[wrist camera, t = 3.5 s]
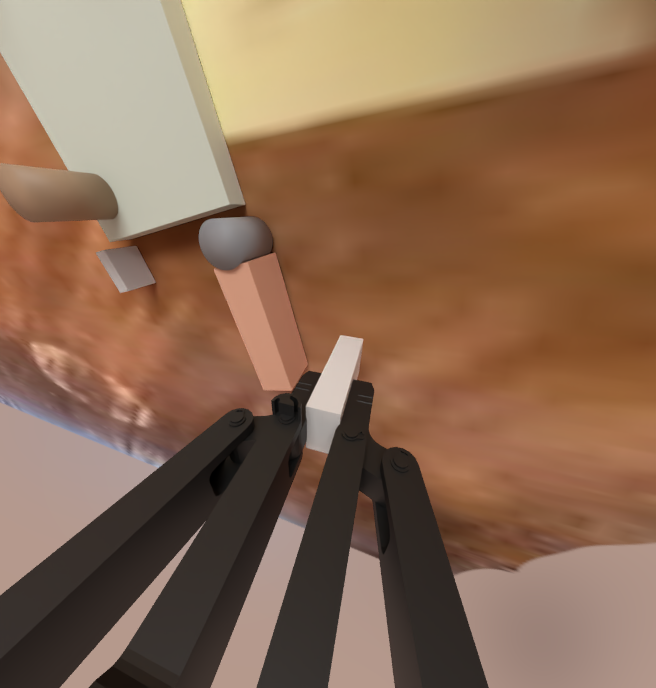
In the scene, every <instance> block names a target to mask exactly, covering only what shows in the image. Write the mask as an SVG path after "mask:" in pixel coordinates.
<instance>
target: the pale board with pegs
mask: <svg viewBox="0 0 656 688" xmlns="http://www.w3.org/2000/svg"><path fill="white" fill-rule="evenodd" d="M0 53H1V54H2V56H3V58H4V60H5V61H6V63H7V65H8V67H9V68H10V70H11V72H12V73H13V75H14V77H15V79H16V80H17V82H18V84H19V86H20V87H21V89H22V91H23V92H24V94H25V96H26V98H27V99H28V101H29V103H30V105H31V106H32V108H33V110H34V111H35V113H36V115H37V117H38V118H39V120H40V122H41V124H42V125H43V127H44V129H45V131H46V132H47V134H48V136H49V137H50V139H51V141H52V143H53V144H54V146H55V148H56V150H57V151H58V153H59V155H60V156H61V158H62V160H63V162H64V163H65V165H66V167H67V169H68V170H69V171H66V170H57V169H48V168H39V167H31V166H22V165H13V164H4V163H1V164H0V190H1V192H2V194H3V196H4V197H5V199H6V200H7V202H8V203H9V204H10V206H11V207H12V208H13V209H14V210H15V211H16V212H17V213H18V214H19V215H20V216H22V217H23V218H24V219H26V220H28V221H30V222H56V221H82V220H98V222H99V224H100V226H101V227H102V229H103V231H104V233H105V234H106V236H107V238H108V239H109V241H110V242H113V241H121V240H130V239H134V238H137V237H140V236H144V235H147V234H150V233H154V232H157V231H160V230H163V229H167V228H170V227H173V226H177V225H180V224H183V223H186V222H190V221H193V220H196V219H200V218H203V217H206V216H209V215H213V214H216V213H219V212H223V211H226V210H229V209H233V208H236V207H239V206H242V205H245V201H244V198H243V195H242V192H241V189H240V186H239V183H238V179H237V176H236V173H235V170H234V167H233V164H232V161H231V157H230V154H229V151H228V148H227V145H226V142H225V138H224V135H223V132H222V129H221V126H220V123H219V120H218V116H217V113H216V110H215V107H214V104H213V101H212V97H211V94H210V91H209V88H208V85H207V82H206V79H205V75H204V72H203V69H202V66H201V63H200V60H199V56H198V53H197V50H196V47H195V44H194V41H193V38H192V34H191V31H190V28H189V25H188V22H187V19H186V16H185V12H184V9H183V6H182V3H181V0H0ZM96 254H97V256H98V257H99V259H100V261H101V262H102V264H103V265H104V267H105V269H106V270H107V272H108V274H109V275H110V277H111V278H112V280H113V282H114V283H115V285H116V287H117V288H118V290H119V291H120V293H121V292H126V291H130V290H134V289H137V288H140V287H144V286H147V285H150V284H154V283H156V282H155V280H154V278H153V276H152V274H151V272H150V270H149V269H148V267H147V265H146V263H145V261H144V259H143V257H142V255H141V254H140V252H139V250H138V248H137V246H130V247H123V248H116V249H108V250H103V251H100V252H96Z"/></svg>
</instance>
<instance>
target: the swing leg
mask: <svg viewBox="0 0 656 688" xmlns="http://www.w3.org/2000/svg"><path fill="white" fill-rule="evenodd" d="M199 244H200V248H201V250H202V252H203V254H204V256H205V258H206V259H207V260H208V261H209V262H210V263H211V264H212V265H213V266H215V267H216V269H214V271H215V274H216V276H217V279H218V281H219V283H220V286H221V288H222V291H223V293H224V296H225V298H226V300H227V303H228V305H229V308H230V310H231V312H232V315H233V317H234V320H235V322H236V324H237V327H238V329H239V332H240V334H241V337H242V339H243V341H244V344H245V346H246V349H247V351H248V353H249V356H250V358H251V361H252V363H253V365H254V368H255V370H256V373H257V375H258V378H259V380H260V382H261V385H262V387H263V390H285V391H292V390H293V388H294V387H295V385H296V383H297V382H298V380H299V378H300V377H301V375H302V373H303V372H304V370H305V368H306V367H307V365H308V363H307V359H306V356H305V352H304V349H303V345H302V342H301V339H300V335H299V332H298V328H297V325H296V321H295V318H294V314H293V311H292V308H291V304H290V301H289V297H288V294H287V290H286V287H285V283H284V280H283V277H282V273H281V270H280V266H279V263H278V259H277V256H276V253H271V254H269V253H270V252H271V249H272V246H273V238H272V234H271V231H270V229H269V227H268V226H267V225H266V223H265V222H264V221H262V220H261V219H259V218H257V217H233V218H215V219H209V220H207V221H205V222H204V223H203V224H202V226H201V228H200V230H199Z"/></svg>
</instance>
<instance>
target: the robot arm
mask: <svg viewBox="0 0 656 688" xmlns="http://www.w3.org/2000/svg"><path fill="white" fill-rule="evenodd" d="M362 346H363V339H361V338H355V337H349V336H343V335H340V337H339V339H338V341H337V343H336V346H335V348H334V350H333V352H332V354H331V356H330V358H329V360H328V362H327V364H326V366H325V368H324V370H323V372H322V373H317V372H312V371H308V372H307V373H305V374H304V375H302V377H301V379H300V380H299V383H298V384H297V385H296V388H295V389H294V390H293V392H292V394H290V393H285V394H280V395H278V396H276V397H274V398H273V399H272V400H271V402H272V411H273V415H269V416H253V414H252V412H251V411H249V410H248V409H244V408H239V409H235V410H232V411H230V412H228V413H227V414H225V415H224V416H223V417H222V418H220V419H219V420H218V421H217V422H215V423H214V424H213V425H212V426H210V427H209V428H208V429H207V430H205V431H204V432H203V433H202V434H200V435H199V436H198V437H197V438H195V439H194V440H193V441H192V442H191V443H189V444H188V445H187V446H186V447H184V448H183V449H182V450H181V451H179V452H178V453H177V454H176V455H174V456H173V457H172V458H171V459H169V460H168V461H167V462H166V463H164V464H163V465H162V466H161V467H159V468H158V469H157V470H156V471H154V472H153V473H152V474H151V475H149V476H148V477H147V478H146V479H144V480H143V481H142V482H141V483H140V484H139V485H137V486H136V487H135V488H133V489H132V490H131V491H130V492H128V493H127V494H126V495H125V496H123V497H122V498H121V499H120V500H118V501H117V502H116V503H115V504H113V505H112V506H111V507H110V508H109V509H107V510H106V511H105V512H103V513H102V514H101V515H100V516H99V517H97V518H96V519H95V520H94V521H92V522H91V523H90V524H89V525H87V526H86V527H85V528H84V529H82V530H81V531H80V532H79V533H77V534H76V535H75V536H74V537H72V538H71V539H70V540H69V541H67V542H66V543H65V544H64V545H63V546H61V547H60V548H59V549H57V550H56V551H55V552H54V553H52V554H51V555H50V556H49V557H48V558H46V559H45V560H44V561H43V562H41V563H40V564H39V565H38V566H36V567H35V568H34V569H33V570H31V571H30V572H29V573H28V574H26V575H25V576H24V577H23V578H21V579H20V580H19V581H18V582H17V583H15V584H14V585H13V586H11V587H10V588H9V589H8V590H6V591H5V592H4V593H3V594H2V595H0V688H60V687H61V685H62V684H63V683H64V682H65V681H66V680H67V679H68V677H69V676H70V675H71V674H72V673H73V672H74V671H75V669H76V668H77V667H78V666H79V665H80V664H81V663H82V661H83V660H84V659H85V658H86V657H87V655H89V653H90V652H91V651H92V650H93V649H94V648H95V647H96V645H97V644H98V643H99V642H100V641H101V640H102V639H103V638H104V636H105V635H106V634H107V633H108V632H109V631H110V630H111V628H112V627H113V626H114V625H115V624H116V623H117V622H118V620H119V619H120V618H121V617H122V616H123V615H124V614H125V612H126V611H127V610H128V609H129V608H130V607H131V606H132V605H133V603H134V602H135V601H136V600H137V599H138V598H139V597H140V595H141V594H142V593H143V592H144V591H145V590H146V588H147V587H148V586H149V585H150V584H151V583H152V582H153V581H154V579H155V578H156V577H157V576H158V575H159V574H160V572H161V571H162V570H163V569H164V568H165V567H166V566H167V565H168V563H169V562H170V561H171V560H172V559H173V558H174V557H175V556H176V554H177V553H178V552H179V551H180V550H181V549H182V548H183V546H184V545H185V544H186V543H187V542H188V541H189V540H190V538H191V537H192V536H193V535H194V534H195V533H196V532H197V530H198V529H199V528H200V527H201V526H202V525H203V524H204V525H203V527H202V528H201V530H200V531H199V533H198V535H197V536H196V538H195V539H194V541H193V543H192V544H191V546H190V547H189V549H188V551H187V552H186V554H185V555H184V557H183V559H182V560H181V562H180V563H179V565H178V567H177V568H176V570H175V571H174V573H173V574H172V576H171V578H170V579H169V581H168V582H167V584H166V586H165V587H164V589H163V590H162V592H161V594H160V595H159V597H158V599H157V600H156V602H155V603H154V605H153V606H152V608H151V610H150V611H149V613H148V614H147V616H146V618H145V619H144V621H143V622H142V624H141V626H140V627H139V629H138V630H137V632H136V634H135V635H134V637H133V638H132V640H131V642H130V643H129V645H128V646H127V648H126V649H125V651H124V652H123V654H122V655H121V657H120V658H119V659H118V660H117V662H115V664H114V665H113V666H112V667H111V668H110V669H108V670H107V671H106V672H105V673H104V674H102V675H101V676H100V677H99V678H98V679H96V680H95V681H94V682H93V683H92V685H91V686H90V687H89V688H210V687H211V685H212V682H213V680H214V677H215V675H216V672H217V670H218V667H219V665H220V662H221V660H222V657H223V655H224V652H225V650H226V647H227V645H228V642H229V640H230V637H231V635H232V632H233V630H234V627H235V625H236V622H237V619H238V617H239V615H240V612H241V609H242V607H243V605H244V602H245V600H246V597H247V594H248V592H249V590H250V587H251V584H252V582H253V579H254V577H255V575H256V572H257V570H258V567H259V565H260V562H261V560H262V557H263V555H264V552H265V549H266V547H267V544H268V542H269V539H270V537H271V535H272V532H273V530H274V527H275V524H276V522H277V519H278V517H279V515H280V512H281V510H282V507H283V505H284V502H285V500H286V497H287V495H288V492H289V490H290V487H291V485H292V482H293V480H294V477H295V475H296V472H297V470H298V467H299V464H300V462H301V459H302V455H303V447H304V445H305V443H306V448H309V449H313V450H316V451H320V452H323V453H327V454H328V456H327V459H326V463H325V466H324V469H323V472H322V476H321V479H320V482H319V486H318V489H317V492H316V495H315V499H314V502H313V505H312V508H311V512H310V515H309V518H308V521H307V525H306V528H305V531H304V534H303V538H302V541H301V544H300V548H299V551H298V554H297V557H296V561H295V564H294V567H293V570H292V574H291V577H290V580H289V583H288V587H287V590H286V593H285V596H284V600H283V603H282V606H281V610H280V613H279V616H278V620H277V623H276V626H275V629H274V632H273V636H272V639H271V642H270V645H269V649H268V652H267V655H266V658H265V662H264V665H263V668H262V672H261V675H260V678H259V682H258V684H257V688H328V682H329V675H330V669H331V663H332V657H333V651H334V644H335V638H336V632H337V625H338V619H339V612H340V606H341V600H342V594H343V587H344V581H345V575H346V568H347V562H348V556H349V549H350V543H351V537H352V530H353V524H354V518H355V512H356V505H357V499H358V493H359V490H360V491H361V492H362V493H364V494H365V495H367V496H368V497H369V498H371V499H372V501H373V509H374V518H375V526H376V534H377V543H378V551H379V559H380V567H381V575H382V583H383V592H384V600H385V609H386V617H387V625H388V634H389V641H390V650H391V658H392V666H393V675H394V683H395V688H489V687H488V684H487V681H486V678H485V675H484V671H483V668H482V665H481V662H480V659H479V655H478V652H477V649H476V646H475V643H474V640H473V637H472V633H471V630H470V627H469V624H468V621H467V617H466V614H465V611H464V608H463V605H462V601H461V598H460V595H459V592H458V589H457V586H456V583H455V579H454V576H453V573H452V570H451V567H450V563H449V560H448V557H447V554H446V551H445V547H444V544H443V541H442V538H441V535H440V532H439V528H438V525H437V522H436V519H435V516H434V513H433V509H432V506H431V503H430V500H429V497H428V493H427V490H426V487H425V484H424V481H423V478H422V474H421V471H420V468H419V465H418V463H417V461H416V459H415V457H414V456H413V455H412V454H411V453H410V452H408V451H407V450H405V449H403V448H398V447H393V448H389V449H386V448H384V447H382V446H381V445H379V444H378V443H376V442H375V441H374V440H373V439H372V437H371V436H370V433H369V421H370V414H371V408H372V401H373V395H374V388H373V386H372V383H369V382H364V381H359V380H357V378H358V374H359V368H360V361H361V353H362ZM205 521H206V522H205ZM204 522H205V523H204Z"/></svg>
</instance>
